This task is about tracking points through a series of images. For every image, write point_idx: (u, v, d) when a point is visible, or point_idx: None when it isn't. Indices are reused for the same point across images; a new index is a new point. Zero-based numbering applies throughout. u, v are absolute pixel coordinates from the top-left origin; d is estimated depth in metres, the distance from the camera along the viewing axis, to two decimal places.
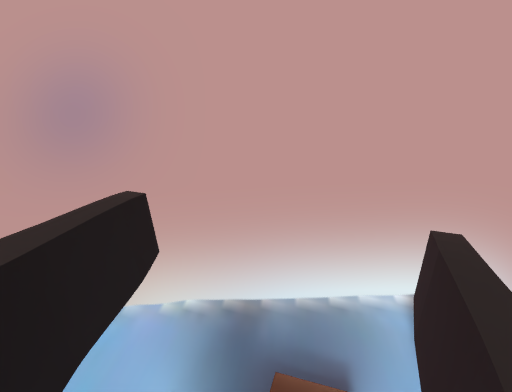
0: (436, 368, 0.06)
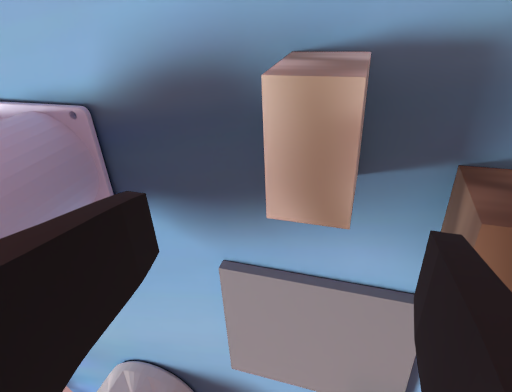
0: (436, 368, 0.06)
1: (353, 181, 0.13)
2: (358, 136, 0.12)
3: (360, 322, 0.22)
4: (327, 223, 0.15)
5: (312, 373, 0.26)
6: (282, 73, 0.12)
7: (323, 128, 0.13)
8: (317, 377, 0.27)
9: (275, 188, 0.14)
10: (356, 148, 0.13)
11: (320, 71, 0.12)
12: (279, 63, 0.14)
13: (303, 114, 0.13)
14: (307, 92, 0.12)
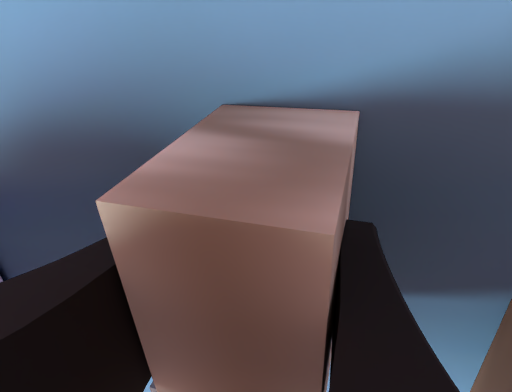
0: (334, 344, 0.07)
1: None
2: (323, 341, 0.05)
3: None
4: None
5: None
6: (146, 195, 0.05)
7: (245, 316, 0.06)
8: None
9: (171, 386, 0.07)
10: (320, 361, 0.06)
11: (234, 190, 0.05)
12: (171, 147, 0.07)
13: (198, 285, 0.06)
14: (199, 246, 0.05)
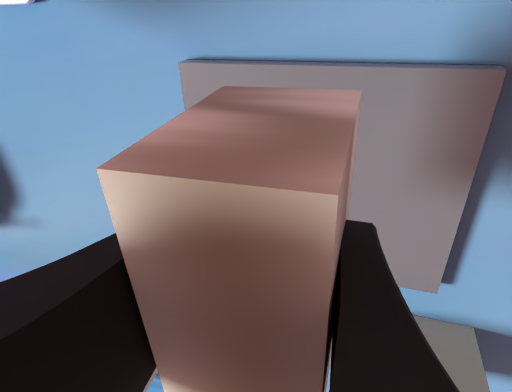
0: (334, 344, 0.07)
1: (320, 382, 0.06)
2: (326, 310, 0.05)
3: (390, 127, 0.15)
4: None
5: None
6: (147, 163, 0.05)
7: (246, 286, 0.06)
8: None
9: (172, 364, 0.07)
10: (323, 332, 0.05)
11: (236, 158, 0.05)
12: (173, 122, 0.07)
13: (200, 254, 0.05)
14: (201, 214, 0.05)
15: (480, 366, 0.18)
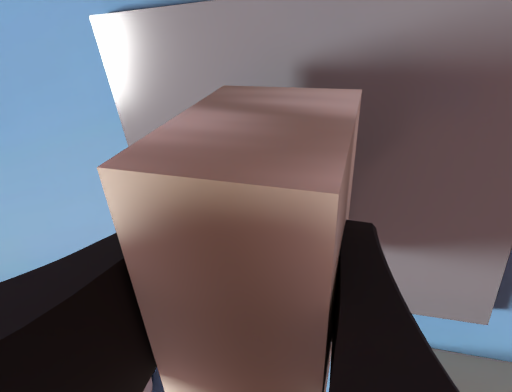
0: (333, 344, 0.07)
1: (320, 382, 0.06)
2: (326, 309, 0.05)
3: (403, 80, 0.09)
4: None
5: None
6: (148, 162, 0.05)
7: (247, 284, 0.06)
8: None
9: (172, 363, 0.07)
10: (323, 331, 0.05)
11: (237, 157, 0.05)
12: (173, 121, 0.07)
13: (200, 253, 0.05)
14: (202, 212, 0.05)
15: None
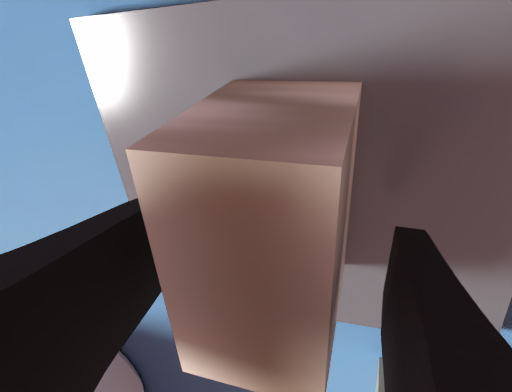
0: (393, 358, 0.06)
1: (326, 345, 0.07)
2: (331, 275, 0.06)
3: (405, 89, 0.09)
4: None
5: None
6: (171, 144, 0.06)
7: (260, 254, 0.06)
8: None
9: (188, 335, 0.08)
10: (328, 295, 0.06)
11: (250, 140, 0.06)
12: (189, 111, 0.08)
13: (218, 226, 0.06)
14: (219, 187, 0.06)
15: None
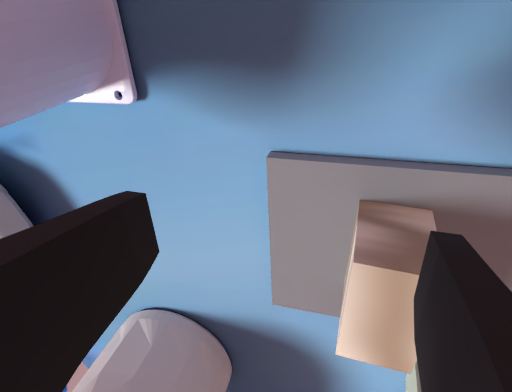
0: (436, 368, 0.06)
1: None
2: None
3: (454, 216, 0.17)
4: (392, 367, 0.17)
5: None
6: (370, 260, 0.14)
7: (402, 305, 0.15)
8: None
9: (348, 336, 0.17)
10: None
11: (403, 259, 0.14)
12: (358, 232, 0.16)
13: (386, 293, 0.15)
14: (392, 280, 0.14)
15: None
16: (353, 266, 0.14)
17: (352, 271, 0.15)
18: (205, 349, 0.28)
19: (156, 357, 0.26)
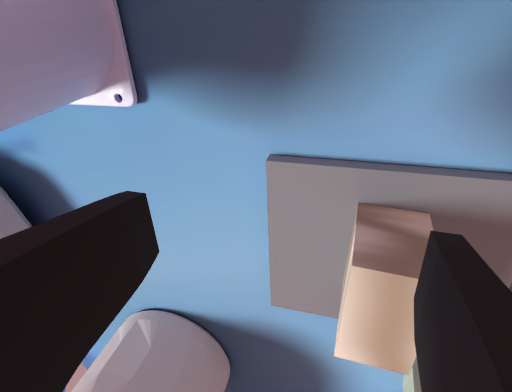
0: (436, 368, 0.06)
1: None
2: None
3: (451, 219, 0.18)
4: (389, 368, 0.17)
5: None
6: (369, 264, 0.15)
7: (400, 308, 0.15)
8: None
9: (347, 338, 0.17)
10: None
11: (401, 263, 0.15)
12: (357, 236, 0.16)
13: (384, 296, 0.15)
14: (391, 283, 0.14)
15: None
16: (352, 269, 0.15)
17: (351, 274, 0.15)
18: (204, 350, 0.28)
19: (155, 358, 0.26)
